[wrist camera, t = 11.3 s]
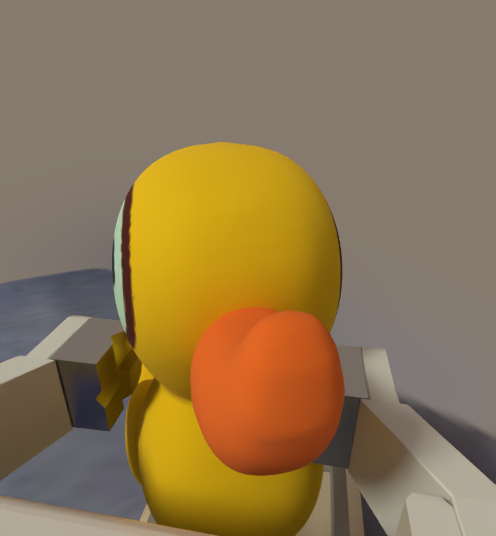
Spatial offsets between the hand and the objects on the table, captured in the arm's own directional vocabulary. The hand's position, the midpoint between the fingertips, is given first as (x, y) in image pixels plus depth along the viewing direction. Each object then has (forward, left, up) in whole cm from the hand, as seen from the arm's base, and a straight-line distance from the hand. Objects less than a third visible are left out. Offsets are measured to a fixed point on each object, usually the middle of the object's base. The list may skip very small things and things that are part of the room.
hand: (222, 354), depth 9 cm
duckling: (0, -1, -6) cm, 6 cm away
